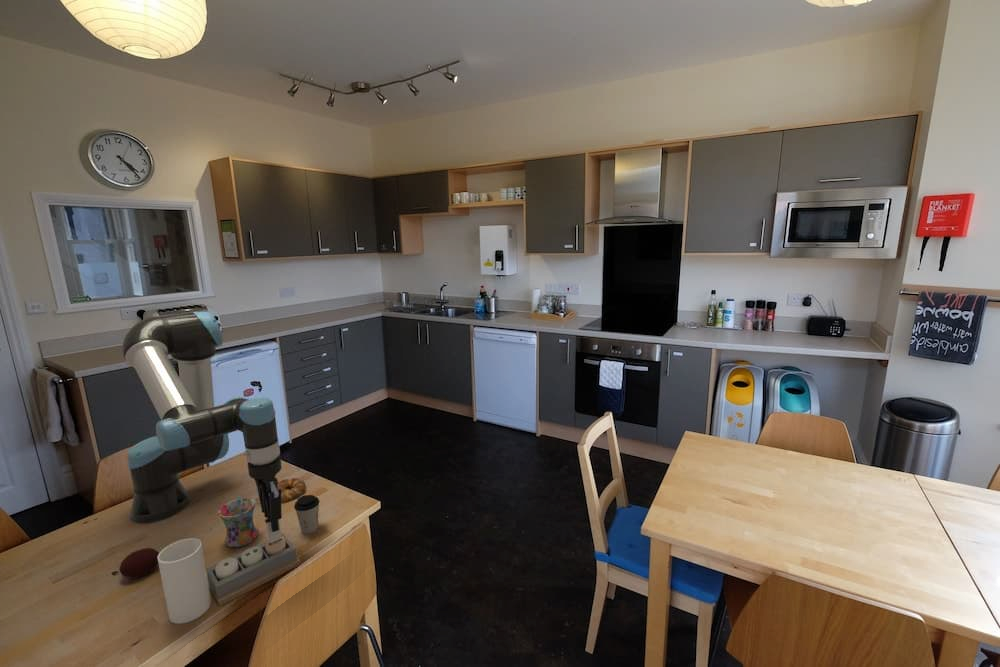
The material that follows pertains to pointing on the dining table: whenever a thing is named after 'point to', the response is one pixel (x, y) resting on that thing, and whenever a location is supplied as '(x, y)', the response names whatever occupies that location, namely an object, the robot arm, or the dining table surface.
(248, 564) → the button
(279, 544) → the button
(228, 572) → the button
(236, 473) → the dining table surface
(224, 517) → the mug
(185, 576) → the cup
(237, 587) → the console
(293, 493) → the bagel
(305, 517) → the coffee cup
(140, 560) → the potato
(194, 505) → the dining table surface
